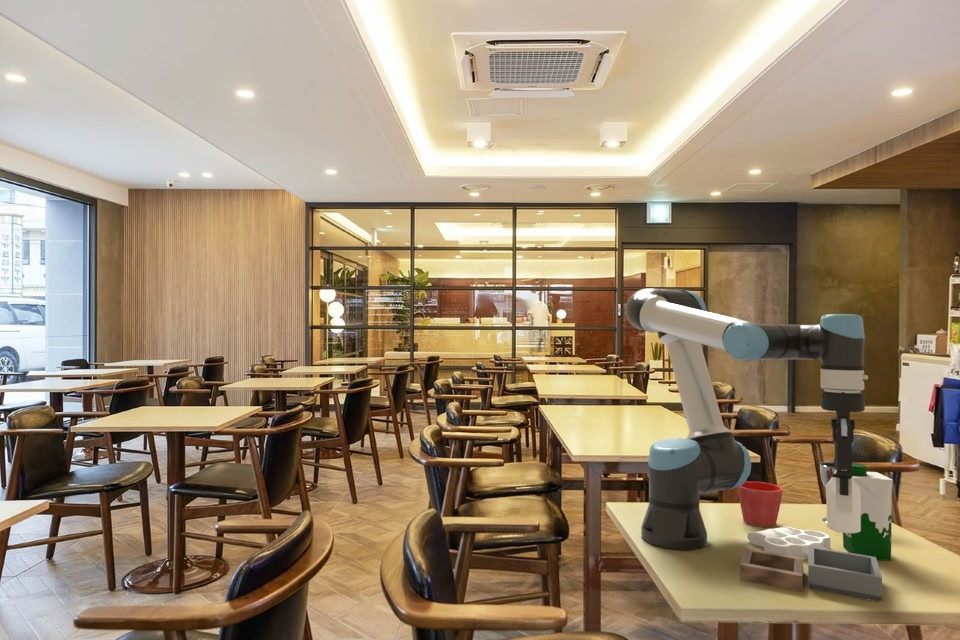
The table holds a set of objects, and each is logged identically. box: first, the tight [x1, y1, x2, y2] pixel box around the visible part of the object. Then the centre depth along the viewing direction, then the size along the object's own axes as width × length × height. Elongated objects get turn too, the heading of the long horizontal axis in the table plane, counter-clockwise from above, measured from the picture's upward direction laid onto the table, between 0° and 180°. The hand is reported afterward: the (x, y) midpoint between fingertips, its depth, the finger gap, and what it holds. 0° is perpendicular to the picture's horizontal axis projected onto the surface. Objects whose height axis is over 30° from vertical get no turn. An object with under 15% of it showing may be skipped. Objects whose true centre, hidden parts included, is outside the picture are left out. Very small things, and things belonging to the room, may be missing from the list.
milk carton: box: [842, 462, 894, 562], centre depth 135 cm, size 9×9×20 cm
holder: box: [739, 547, 804, 593], centre depth 122 cm, size 11×11×3 cm
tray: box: [807, 546, 883, 602], centre depth 118 cm, size 12×12×4 cm
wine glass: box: [819, 461, 837, 523], centre depth 158 cm, size 8×8×15 cm
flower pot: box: [736, 480, 784, 528], centre depth 156 cm, size 11×11×10 cm
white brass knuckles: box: [746, 525, 831, 560], centre depth 138 cm, size 3×18×15 cm
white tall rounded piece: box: [825, 470, 861, 533], centre depth 118 cm, size 6×12×6 cm
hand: (843, 506), depth 118 cm, fingers closed on white tall rounded piece, 5 cm apart
